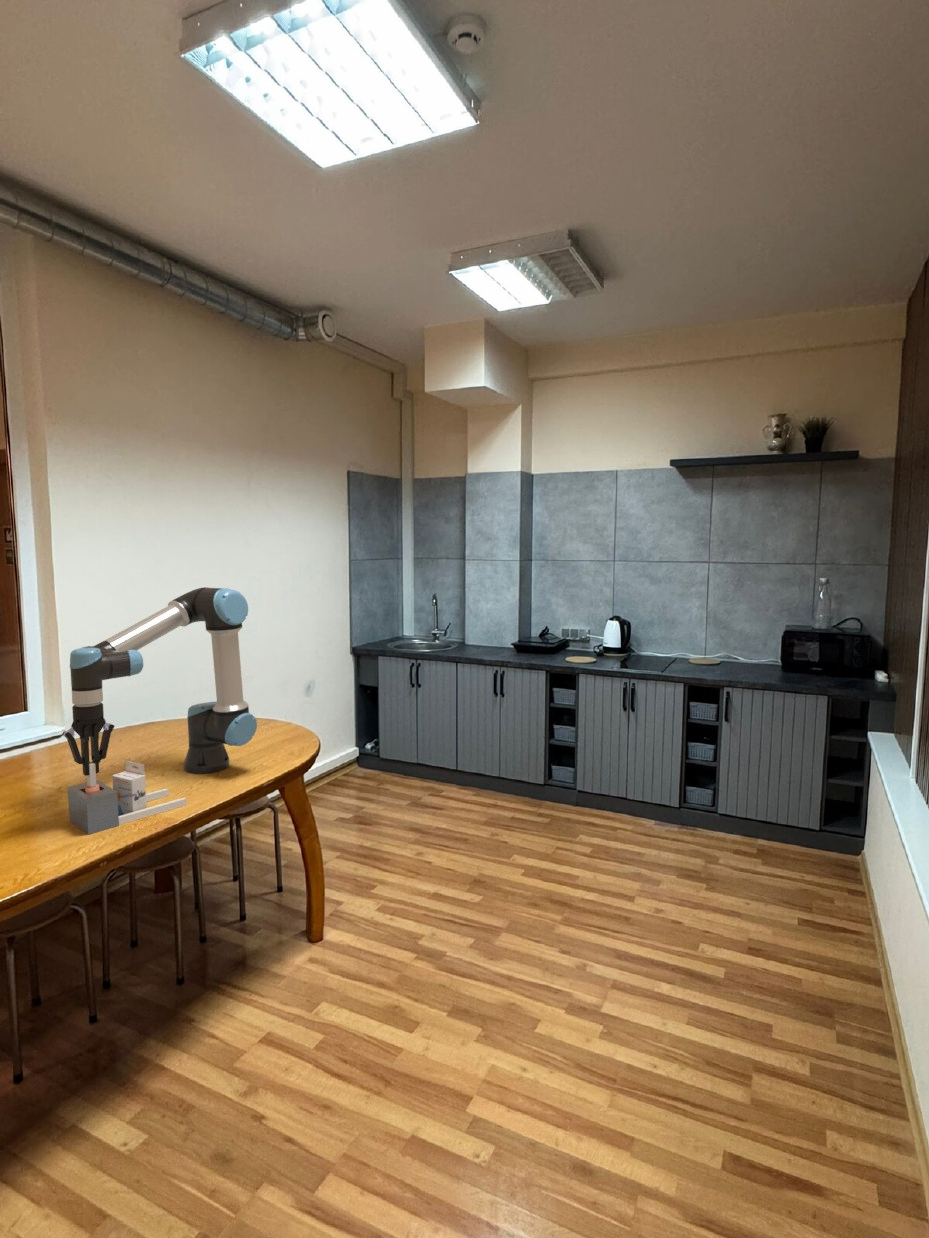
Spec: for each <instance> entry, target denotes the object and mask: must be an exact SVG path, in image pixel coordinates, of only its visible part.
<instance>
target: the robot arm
mask: <svg viewBox="0 0 929 1238" xmlns="http://www.w3.org/2000/svg"><path fill="white" fill-rule="evenodd" d="M248 605H249V604H248V601H247V599H246V597H245V596H244V595H243V594H242V593H241V592H240V591H238V590H235V589H231V588H226V587H224V588H223V587H199V588H195V589H193V590H190V591H188V592H186V593H184V594H182V595H179V596H178V597H175V598H174V599H172V600H171V601H169V602H168V603H167V606H166V607H164V608H162V609H160V610H159V611H157V612H155V613H153V614H151V615H149V616H147V617H146V618H144V619H141V620H140V621H138V622H137V623H134V624H133V625H130V626H128V627H127V628H125V629H123V630H121V631H120V632H118V633H116V634H114V635H112V636H110V637H108V638H107V639H105V640H103V641H101V642H99V643H97V644H94V645H92V646H91V645H89V646H88V645H87V646H81V647H80V648H75V649H73V650H72V651H70V654H69V655H70V656H69V657H70V658H69V669H70V684H71V685H70V686H71V703H72V704H73V706H72V723H71V726H70V728H69V729H68V730H65V731H63V732H62V735H63V737H64V738H66V740H67V743H68V745H69V749H70V751H71V754H72V758H73V760H74V762H75V763H76V764H78V765H82V775H83V776H85V777H86V782H87V785H88V786H90V787H94V786H96V780H97V774H98V773H100V763H101V761H102V760H105V759H107V753H108V749H109V744H110V740H111V734H112V732H113V730H114V729H115V725H114V724H112V723H110V722H106V721H107V720H106V719H105V718H104V716H105V715H104V703H102V702H103V701H104V693H103V681H106V680H111V679H119V678H123V677H124V678H125V677H131V676H134V675H139V674H140V673H142V670H143V668H144V658H143V655H142V654H141V652H140V651H139V650H141V649H142V648H144V647H146V646H147V645H150V644H151V643H152V642H154V641H156V640H158V639H159V638H161V637H163V636H164V635H165V636H166V635H167V634H168V633H170V632H172V631H174V630H175V629H177V628H180V627H188V626H189V625H191V624H193V623H197V622H198V623H199V622H204V624H205V625H204V626H205V631H206V632H207V633H209V634H210V636H211V638H210V639H211V647H212V649H211V650H212V657H213V658H212V659H213V667H214V668H213V671H214V683H215V684H214V685H215V696H216V697H215V698H216V701H207V702H202V703H196V704H193V705H191V706H189V707H188V709H187V730H188V731H187V732H188V733H187V734H188V750H187V753H186V756H185V759H184V762H183V768H184V769H183V770H184V771H186V772H187V773H190V774H191V773H192V774H209V773H215V772H219V771H222V770H225V769H226V768H228V767H230V757H229V755H228V752H227V749H226V747H225V745H228V746H230V747H231V746H232V747H242V746H245V745H246V744H248V743H249V742H251V740H252V739H253V737H254V736H255V734H256V731H257V729H258V728H257V727H258V722H257V721H258V720H257V718H256V717H255V716H254V715H253V714H252V713H251V712H250V708H249V703H248V702H246V700H244V693H243V678H242V666H241V655H240V654H241V652H240V640H239V632H240V631H241V630H242V628H243V623H244V622H245V621H246V620H247V616H248V613H249V606H248ZM102 730H103V731H102ZM101 731H102V736H101V740H100V743H99V739H100V733H101ZM75 733H76V734H77V735H78V736H79V739H80V750H79V747H78V745H77V741H76V739H75V736H76V735H75ZM89 743H90V744H89ZM99 745H100V746H99ZM90 755H91V756H90ZM90 757H91V759H90ZM90 760H91V761H90Z"/></svg>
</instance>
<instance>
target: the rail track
mask: <svg viewBox="0 0 929 1238" xmlns="http://www.w3.org/2000/svg"><path fill="white" fill-rule="evenodd" d="M169 796H170V790H169V788H163V789H159V790H155V791H152V792H148V793H147V792H146V803H148V802H150V801H151V802H152V801H154V800H158V799H162V798H165V797H169ZM187 805H188V804H187V798H185V797H182V798H181V797H180V798H177V799H174V800H171V801H167V802H164V803H159V804H157V805H153V806H150V807H147V808H145V809H142V810H139V811H135V812H132V813H128V814H125V815H119V826H121V825H125V824H127V823H130V822H134V821H136V820H137V821H138V820H140V819H144V818H147V817H151V816H153V815H159V814H161V813H164V812H167V811H171V810H174V809H178V808H182V807H185V806H187Z"/></svg>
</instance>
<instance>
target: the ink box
mask: <svg viewBox="0 0 929 1238" xmlns="http://www.w3.org/2000/svg"><path fill="white" fill-rule="evenodd" d="M124 763H125V770H124V771H120V772H118V773H115V774H112V776H111V778H112V789H114V790H116V791H117V794H118V815H119V816H121V815H125V814H128V813H132V812H135V811H139V810H142V809H145V808H148V807H147V802H146V794H147V789H146V788H147V787H146V786H147V785H146V772H145V764H144V763H139V762H133V761H129V760H125V762H124ZM134 766H135V767H134ZM136 767H137V768H136Z"/></svg>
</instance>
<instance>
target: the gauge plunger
mask: <svg viewBox="0 0 929 1238" xmlns="http://www.w3.org/2000/svg"><path fill="white" fill-rule="evenodd" d="M96 791H100V789H99V784H96V786H94V787H90V786H88V785H87V786H85V793H86V794H88V793H92V792H96Z"/></svg>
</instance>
